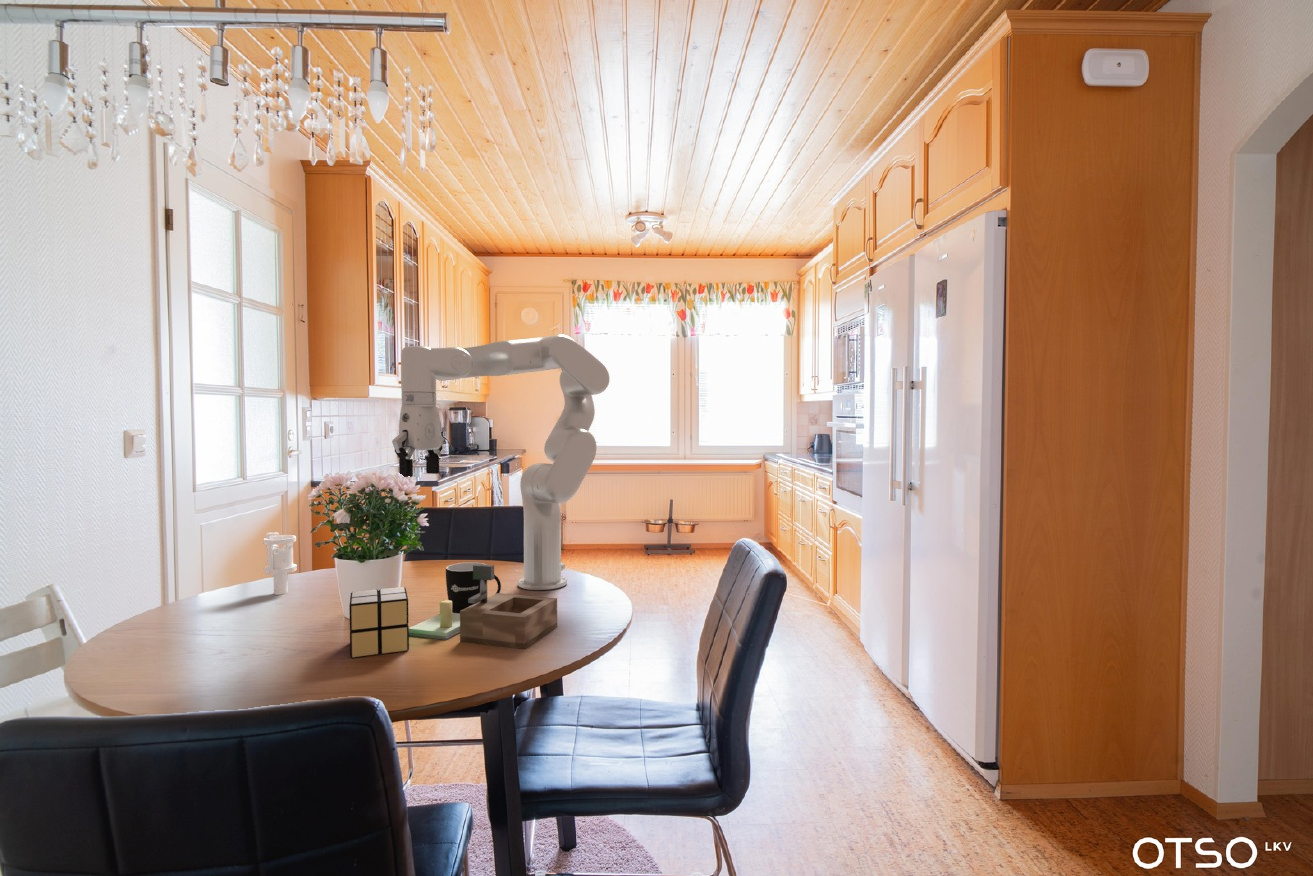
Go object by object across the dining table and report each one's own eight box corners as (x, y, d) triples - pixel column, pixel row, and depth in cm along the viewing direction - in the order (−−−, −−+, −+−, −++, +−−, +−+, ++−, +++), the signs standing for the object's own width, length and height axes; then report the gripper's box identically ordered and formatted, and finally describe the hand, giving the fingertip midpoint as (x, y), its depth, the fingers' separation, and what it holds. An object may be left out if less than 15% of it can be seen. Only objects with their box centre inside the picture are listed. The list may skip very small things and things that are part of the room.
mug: (442, 617, 146) (442, 571, 146) (449, 606, 155) (449, 562, 155) (499, 615, 148) (498, 569, 148) (502, 604, 157) (502, 561, 157)
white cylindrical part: (279, 588, 171) (278, 530, 170) (303, 590, 169) (302, 531, 169) (257, 596, 164) (256, 534, 163) (282, 597, 163) (281, 535, 162)
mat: (442, 616, 147) (442, 614, 147) (482, 620, 144) (482, 619, 144) (403, 635, 135) (403, 633, 135) (446, 640, 132) (446, 638, 132)
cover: (444, 615, 147) (444, 589, 146) (480, 619, 144) (480, 592, 144) (408, 632, 135) (407, 603, 135) (446, 636, 132) (446, 607, 132)
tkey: (494, 601, 137) (494, 565, 137) (480, 608, 132) (480, 571, 132) (476, 599, 138) (476, 564, 138) (462, 607, 133) (461, 570, 132)
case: (497, 620, 144) (497, 593, 144) (557, 626, 140) (557, 598, 140) (460, 641, 131) (459, 610, 131) (524, 649, 127) (524, 617, 127)
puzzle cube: (351, 642, 131) (350, 591, 130) (406, 635, 135) (405, 586, 134) (350, 659, 121) (349, 604, 121) (409, 651, 125) (408, 598, 125)
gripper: (408, 399, 145) (409, 479, 145) (455, 401, 161) (455, 472, 162) (379, 399, 147) (380, 478, 148) (428, 401, 164) (428, 471, 164)
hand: (419, 475), depth 155 cm, fingers open, 9 cm apart
